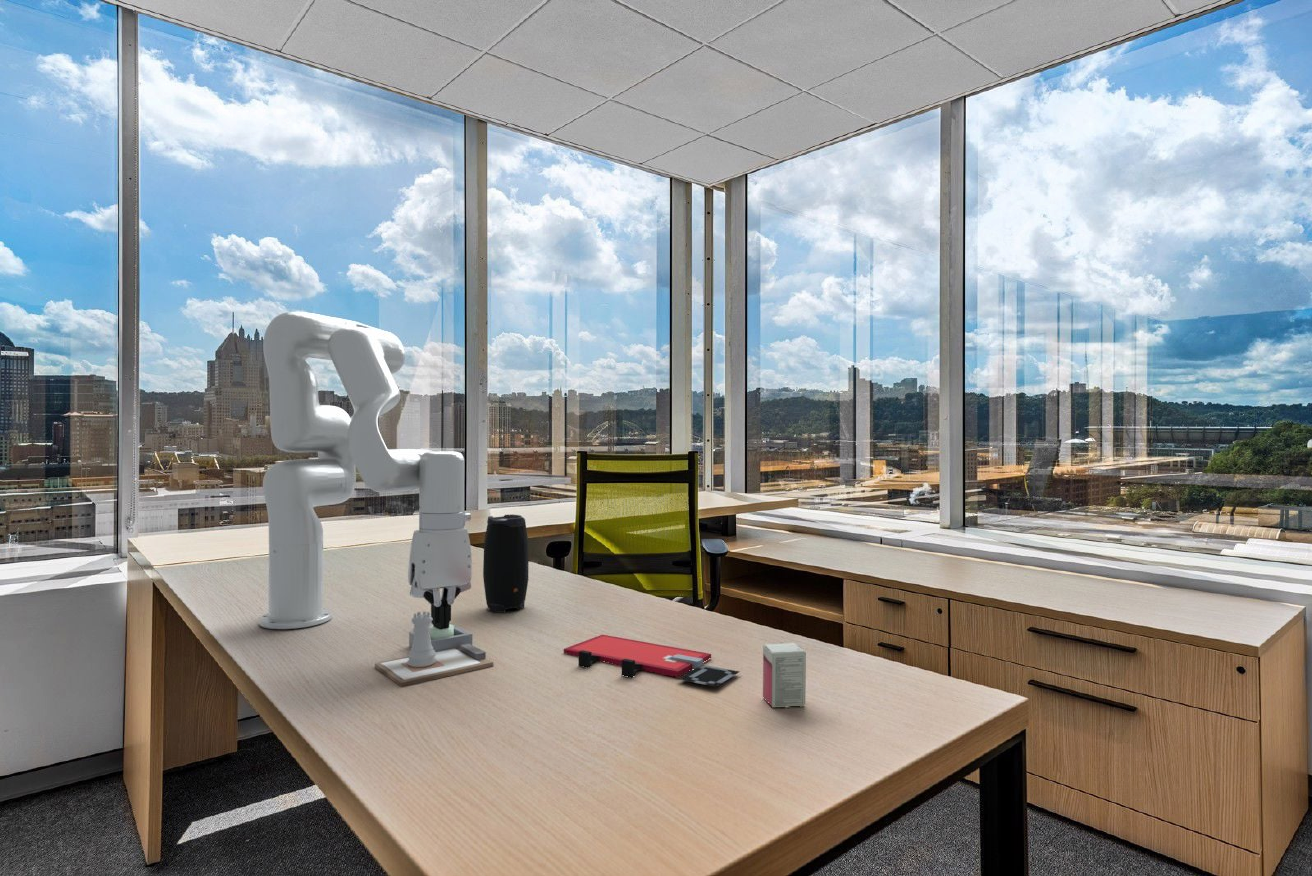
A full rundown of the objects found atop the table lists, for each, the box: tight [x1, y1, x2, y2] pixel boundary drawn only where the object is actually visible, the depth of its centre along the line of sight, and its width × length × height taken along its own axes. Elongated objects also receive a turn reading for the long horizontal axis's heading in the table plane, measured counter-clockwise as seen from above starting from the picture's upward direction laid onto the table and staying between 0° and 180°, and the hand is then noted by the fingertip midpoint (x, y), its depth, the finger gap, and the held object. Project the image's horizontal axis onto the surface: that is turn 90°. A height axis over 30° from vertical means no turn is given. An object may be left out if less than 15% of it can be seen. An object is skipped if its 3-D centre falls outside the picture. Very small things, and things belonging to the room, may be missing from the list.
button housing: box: [408, 623, 473, 652], centre depth 125 cm, size 8×8×2 cm
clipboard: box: [374, 644, 494, 688], centre depth 115 cm, size 11×15×2 cm
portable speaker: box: [482, 514, 530, 613], centre depth 152 cm, size 9×9×20 cm
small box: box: [762, 642, 807, 708], centre depth 102 cm, size 5×4×8 cm
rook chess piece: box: [407, 611, 436, 668], centre depth 114 cm, size 4×4×8 cm
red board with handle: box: [563, 634, 740, 688], centre depth 118 cm, size 30×3×15 cm
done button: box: [430, 623, 454, 640], centre depth 125 cm, size 4×4×3 cm
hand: (440, 626), depth 125 cm, fingers closed
